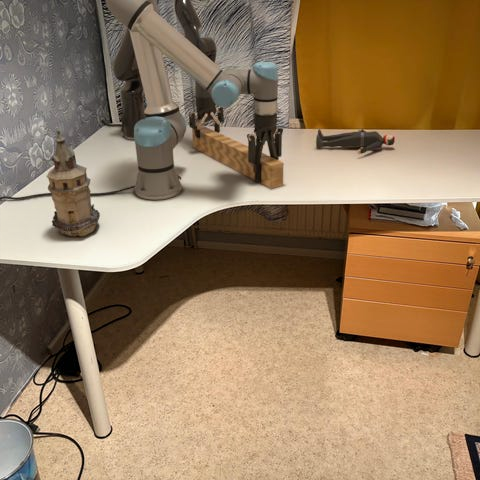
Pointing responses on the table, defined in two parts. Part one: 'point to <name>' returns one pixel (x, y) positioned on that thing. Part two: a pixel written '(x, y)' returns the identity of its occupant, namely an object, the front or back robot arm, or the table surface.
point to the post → (238, 156)
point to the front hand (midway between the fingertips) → (264, 179)
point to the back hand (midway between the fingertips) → (207, 136)
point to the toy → (355, 140)
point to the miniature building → (70, 193)
